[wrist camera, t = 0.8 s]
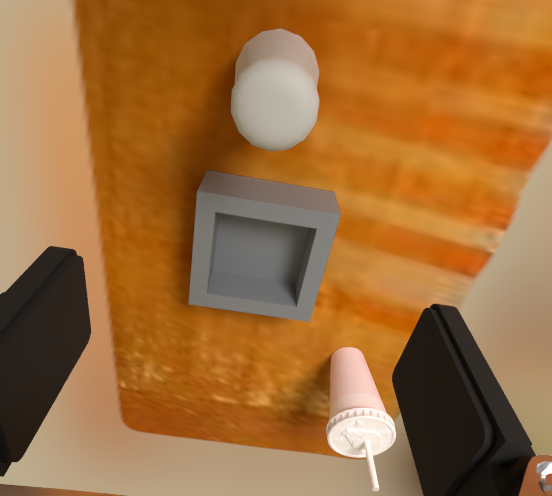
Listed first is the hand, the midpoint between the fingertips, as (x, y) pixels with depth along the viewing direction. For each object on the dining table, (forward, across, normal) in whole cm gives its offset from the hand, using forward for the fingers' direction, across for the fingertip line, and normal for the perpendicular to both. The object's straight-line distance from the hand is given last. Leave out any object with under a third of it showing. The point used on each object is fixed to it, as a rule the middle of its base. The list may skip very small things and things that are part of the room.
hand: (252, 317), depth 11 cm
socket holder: (+23, -1, +11) cm, 26 cm away
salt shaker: (+24, 0, -3) cm, 24 cm away
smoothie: (+23, -13, +25) cm, 36 cm away
